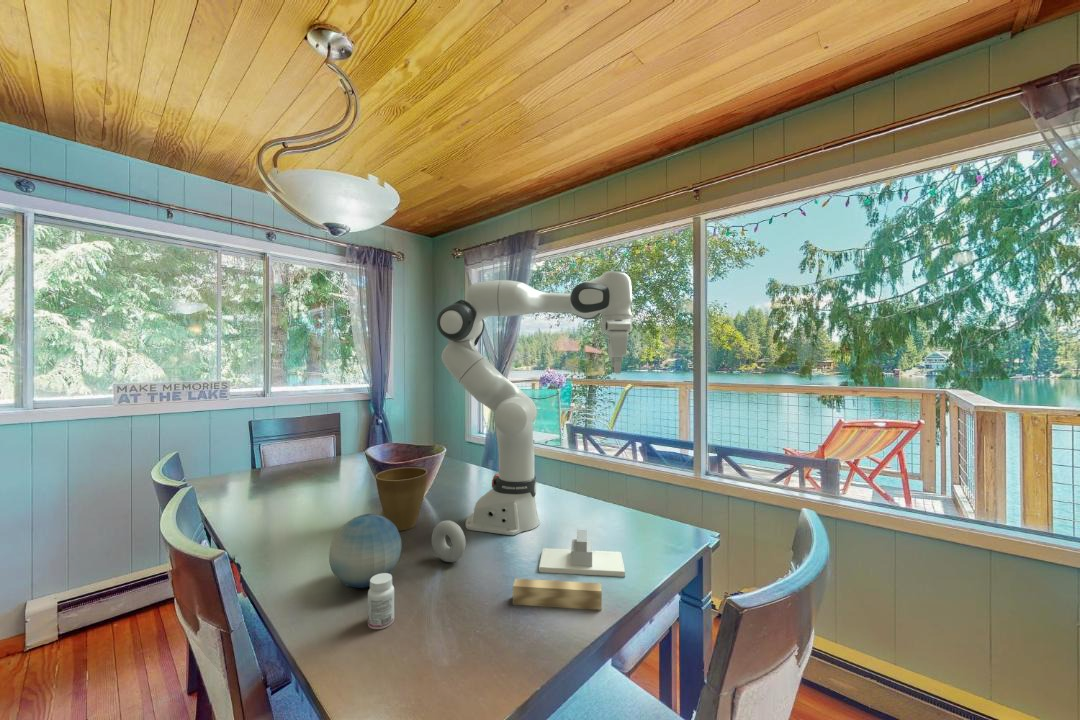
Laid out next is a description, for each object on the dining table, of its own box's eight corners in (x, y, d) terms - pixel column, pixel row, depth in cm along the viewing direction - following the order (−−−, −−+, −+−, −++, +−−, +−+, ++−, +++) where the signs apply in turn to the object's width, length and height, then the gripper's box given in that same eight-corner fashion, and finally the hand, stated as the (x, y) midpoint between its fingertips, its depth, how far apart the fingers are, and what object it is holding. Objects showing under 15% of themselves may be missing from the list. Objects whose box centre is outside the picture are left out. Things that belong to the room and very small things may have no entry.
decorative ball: (400, 596, 89) (400, 525, 89) (321, 607, 84) (322, 533, 84) (402, 563, 103) (402, 502, 103) (335, 571, 99) (335, 508, 99)
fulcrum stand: (539, 572, 99) (539, 542, 99) (543, 552, 109) (543, 525, 109) (625, 576, 97) (625, 546, 97) (621, 556, 107) (621, 529, 107)
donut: (468, 563, 103) (468, 522, 103) (459, 569, 100) (459, 527, 100) (438, 553, 108) (438, 515, 108) (428, 559, 105) (428, 519, 105)
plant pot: (425, 514, 135) (426, 465, 136) (428, 532, 121) (429, 477, 121) (376, 520, 131) (376, 468, 131) (373, 539, 117) (373, 481, 117)
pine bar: (512, 605, 86) (512, 586, 86) (515, 597, 89) (515, 578, 89) (601, 611, 84) (601, 591, 84) (600, 602, 87) (600, 583, 87)
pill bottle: (372, 615, 82) (372, 572, 82) (397, 614, 82) (397, 571, 82) (363, 631, 77) (364, 585, 77) (390, 629, 77) (390, 584, 78)
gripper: (603, 329, 135) (603, 372, 135) (608, 323, 114) (607, 373, 114) (623, 329, 134) (623, 372, 134) (631, 323, 114) (631, 374, 114)
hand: (616, 373), depth 124 cm, fingers open, 8 cm apart
